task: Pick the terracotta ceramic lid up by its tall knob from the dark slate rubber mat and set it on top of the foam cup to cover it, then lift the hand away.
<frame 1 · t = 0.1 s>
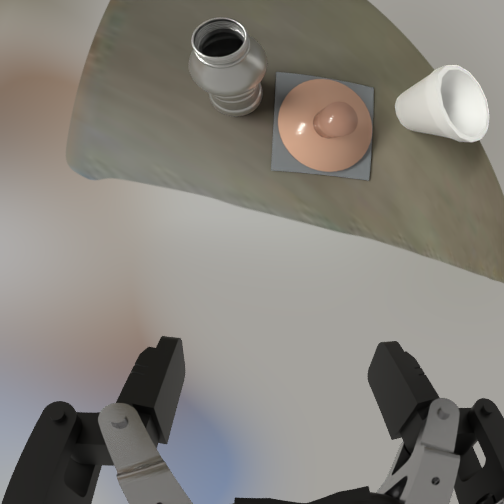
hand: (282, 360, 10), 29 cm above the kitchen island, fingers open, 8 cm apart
foam cup: (411, 111, 32), on the kitchen island
plastic bottle: (237, 97, 32), on the kitchen island
mat: (325, 125, 33), on the kitchen island
lid: (332, 121, 30), on the mat
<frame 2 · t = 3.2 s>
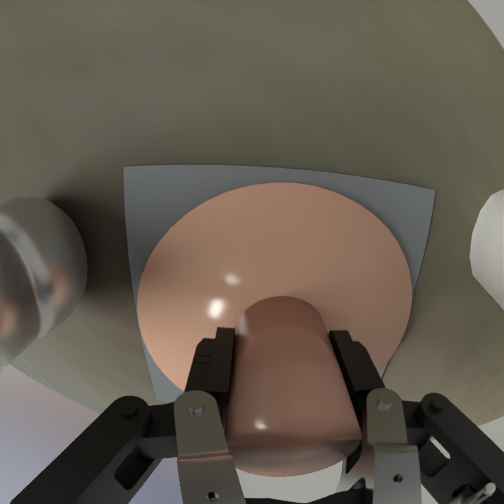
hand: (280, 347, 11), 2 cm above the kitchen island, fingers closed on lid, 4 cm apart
foam cup: (497, 238, 12), on the kitchen island
plastic bottle: (57, 246, 12), on the kitchen island
mat: (277, 318, 13), on the kitchen island
lid: (284, 374, 9), on the mat, touching gripper
when the fingers open (16 cm above the kitchen island, at t = 8.4 s): lid drops 1 cm, resting on foam cup.
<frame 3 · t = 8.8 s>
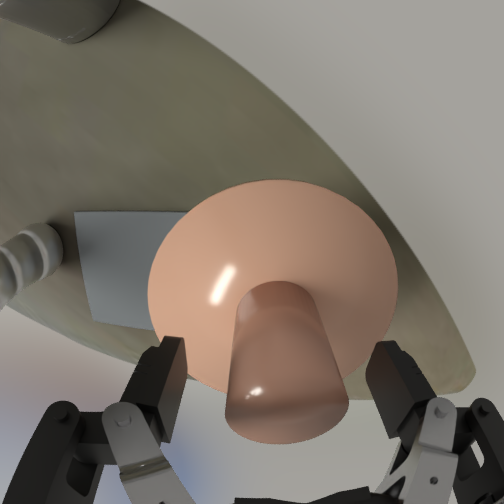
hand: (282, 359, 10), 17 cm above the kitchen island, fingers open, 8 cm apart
plastic bottle: (51, 243, 27), on the kitchen island
mat: (133, 274, 28), on the kitchen island
lid: (280, 349, 11), point 16 cm above the kitchen island, touching foam cup
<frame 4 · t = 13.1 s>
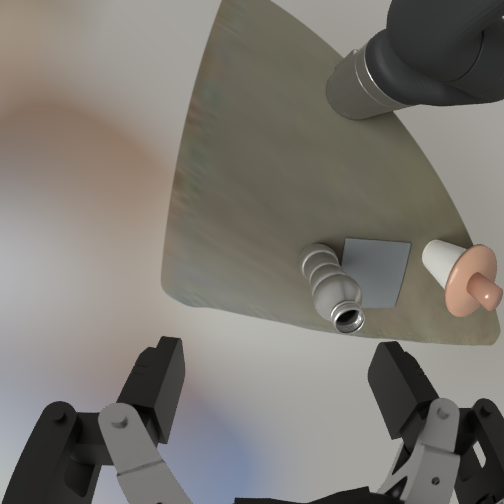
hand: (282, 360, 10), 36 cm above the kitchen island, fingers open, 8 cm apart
foam cup: (433, 253, 47), on the kitchen island, touching lid
plastic bottle: (315, 257, 47), on the kitchen island
mat: (372, 275, 48), on the kitchen island
lid: (482, 289, 31), point 16 cm above the kitchen island, touching foam cup
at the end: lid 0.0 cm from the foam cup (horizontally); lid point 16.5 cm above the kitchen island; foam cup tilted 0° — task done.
